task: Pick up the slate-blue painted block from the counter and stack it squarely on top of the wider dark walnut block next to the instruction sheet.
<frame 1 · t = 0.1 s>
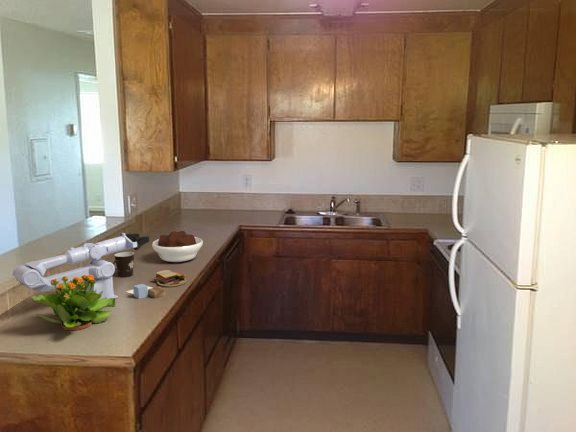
hand: (143, 237, 221), 22 cm above the worktop, tool horizontal, fingers open, 7 cm apart
instruction sheet: (140, 290, 221), on the worktop
toy sandwich meal: (170, 284, 230), on the worktop
bowl of brownies: (178, 260, 268), on the worktop
potted flower: (75, 326, 183), on the worktop
blue block: (140, 296, 213), on the worktop
walnut block: (157, 296, 214), on the worktop
coffee mug: (122, 276, 241), on the worktop
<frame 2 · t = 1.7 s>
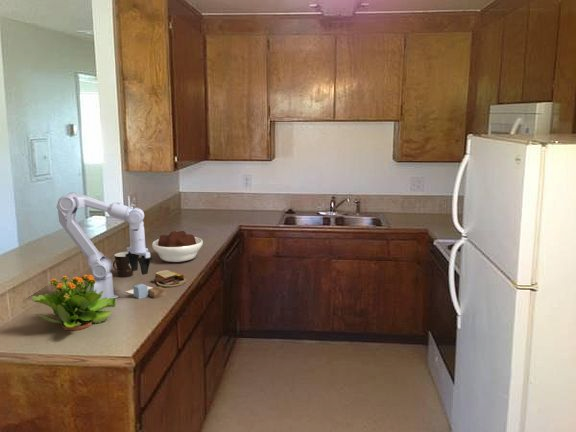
hand: (139, 272, 211), 10 cm above the worktop, tool pointing down, fingers open, 7 cm apart
nothing on the worktop moved.
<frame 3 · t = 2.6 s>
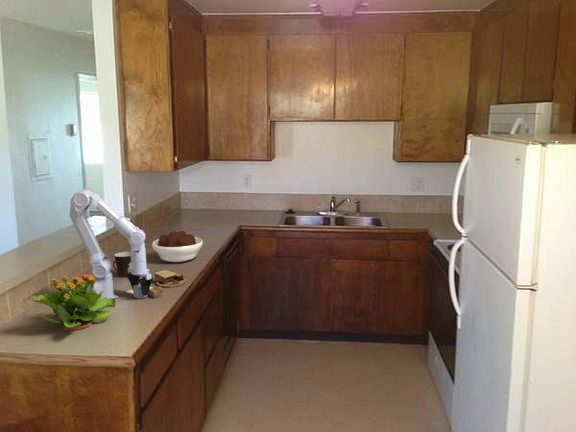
hand: (140, 293, 213), 1 cm above the worktop, tool pointing down, fingers open, 7 cm apart
nothing on the worktop moved.
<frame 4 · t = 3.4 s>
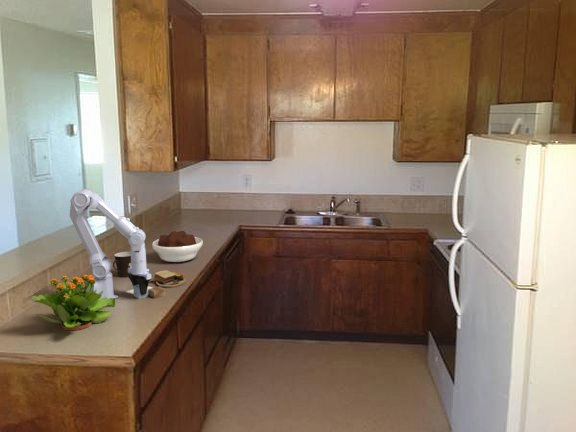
hand: (140, 293, 213), 1 cm above the worktop, tool pointing down, fingers closed on blue block, 4 cm apart
blue block: (140, 296, 213), on the worktop, touching gripper
everything else where it was.
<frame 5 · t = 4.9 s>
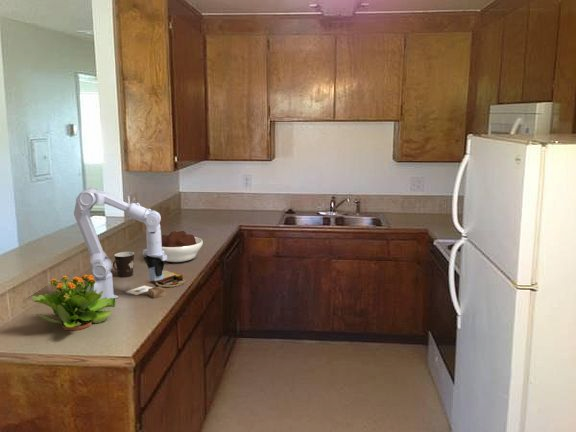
hand: (155, 274, 212), 9 cm above the worktop, tool pointing down, fingers closed on blue block, 4 cm apart
blue block: (156, 278, 213), point 7 cm above the worktop, touching gripper
everything else where it was.
when the fingers open (6 cm above the worktop, at t = 6.2 s): blue block drops 1 cm, point 3 cm above the worktop.
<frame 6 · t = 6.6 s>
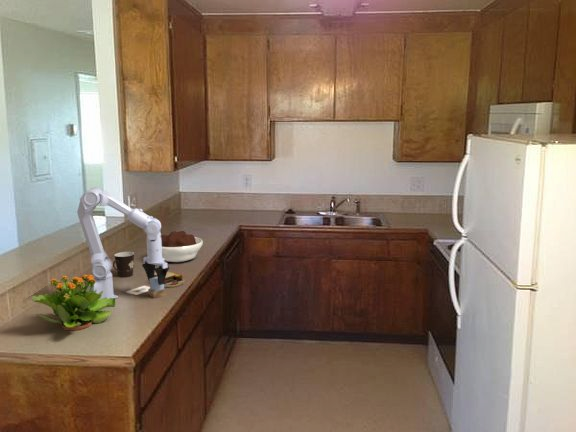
hand: (156, 282, 213), 6 cm above the worktop, tool pointing down, fingers open, 7 cm apart
blue block: (157, 289, 213), point 3 cm above the worktop
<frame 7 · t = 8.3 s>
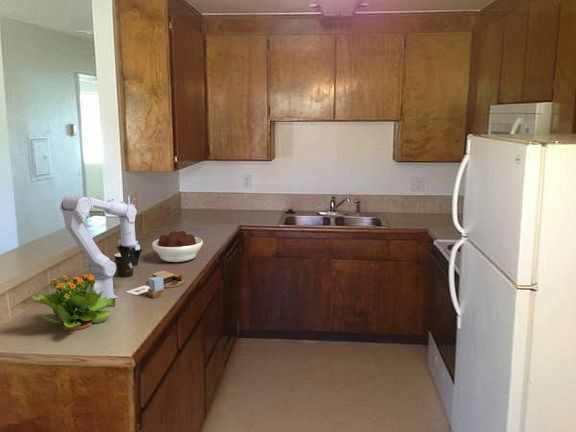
hand: (130, 263, 222), 10 cm above the worktop, tool pointing down, fingers open, 7 cm apart
blue block: (156, 289, 213), point 3 cm above the worktop, touching walnut block
walnut block: (156, 296, 214), on the worktop, touching blue block
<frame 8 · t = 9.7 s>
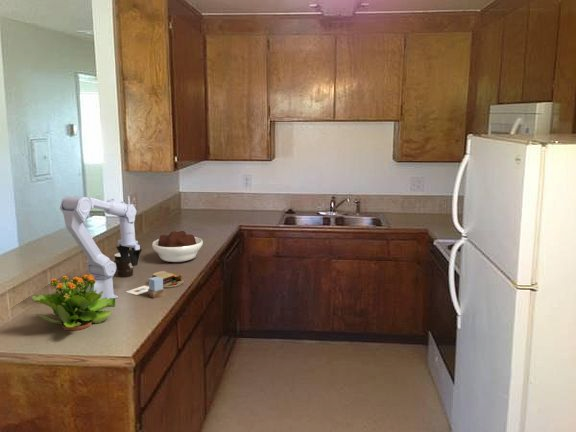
hand: (130, 263, 222), 10 cm above the worktop, tool pointing down, fingers open, 7 cm apart
blue block: (156, 289, 213), point 3 cm above the worktop
walnut block: (156, 296, 214), on the worktop
at the end: blue block 0.2 cm off-centre on the walnut block, point 3.0 cm above the walnut block's base; blue block tilted 1°; walnut block moved 0.3 cm from its start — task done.
